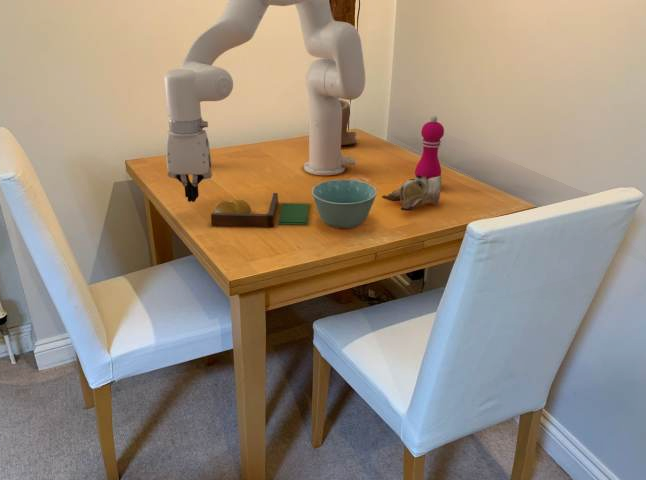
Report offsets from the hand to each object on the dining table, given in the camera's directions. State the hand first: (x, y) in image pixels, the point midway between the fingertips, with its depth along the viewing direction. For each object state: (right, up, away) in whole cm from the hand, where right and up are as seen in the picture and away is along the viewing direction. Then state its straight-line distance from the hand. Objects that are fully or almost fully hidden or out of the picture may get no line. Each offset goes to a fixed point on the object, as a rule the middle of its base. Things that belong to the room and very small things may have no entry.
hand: (192, 199), depth 145 cm
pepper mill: (+62, +6, +20) cm, 66 cm away
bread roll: (+10, -4, +2) cm, 11 cm away
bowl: (+37, -6, -1) cm, 38 cm away
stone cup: (+39, +27, +55) cm, 72 cm away
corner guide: (+13, -3, +3) cm, 14 cm away
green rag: (+25, -3, +3) cm, 26 cm away
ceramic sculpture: (+57, -1, +8) cm, 57 cm away
